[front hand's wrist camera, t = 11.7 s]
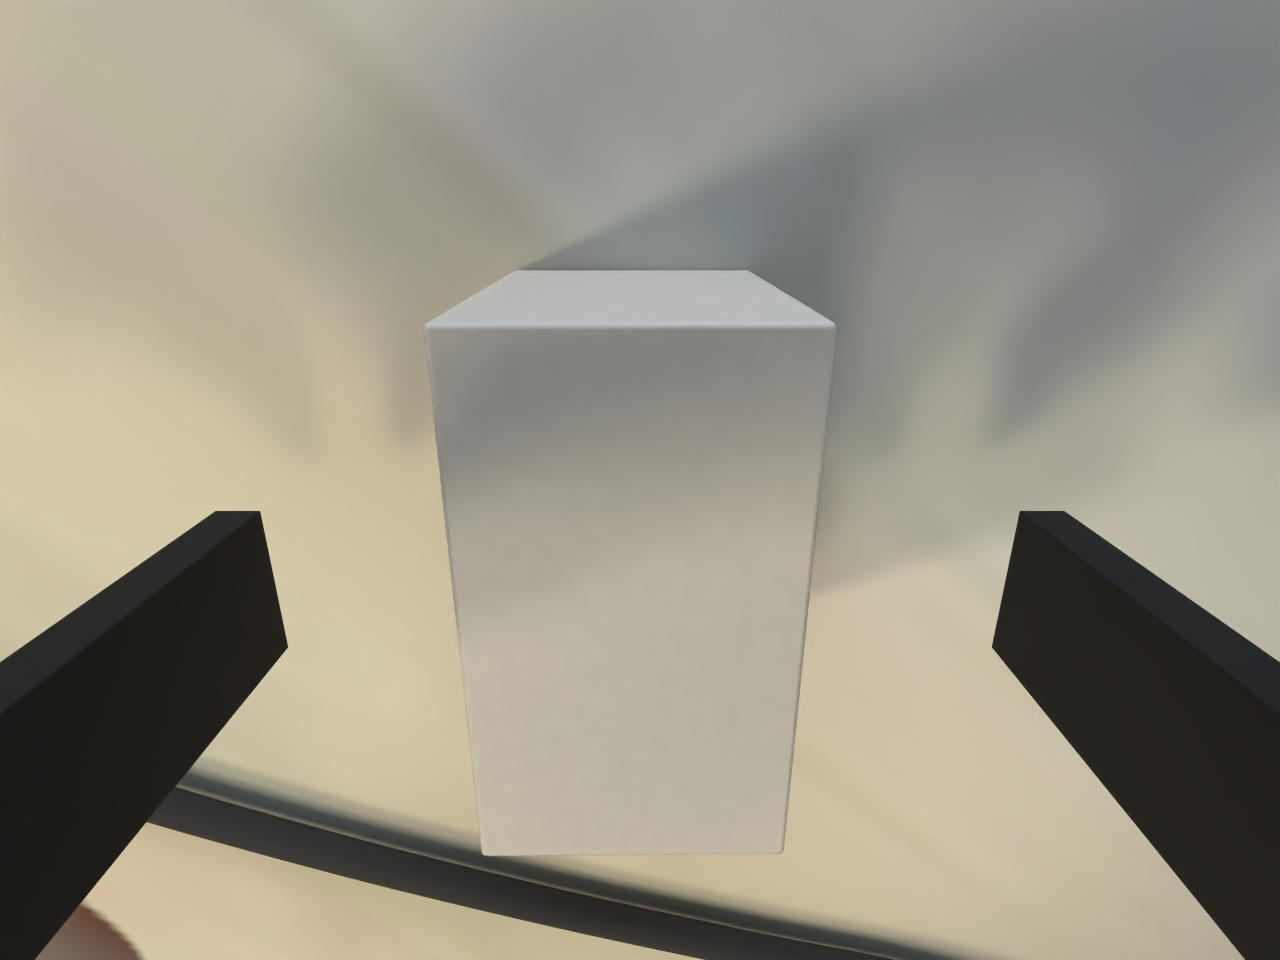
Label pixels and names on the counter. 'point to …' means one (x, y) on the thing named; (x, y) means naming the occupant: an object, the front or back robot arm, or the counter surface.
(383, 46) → the counter surface
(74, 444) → the counter surface
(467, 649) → the brick
